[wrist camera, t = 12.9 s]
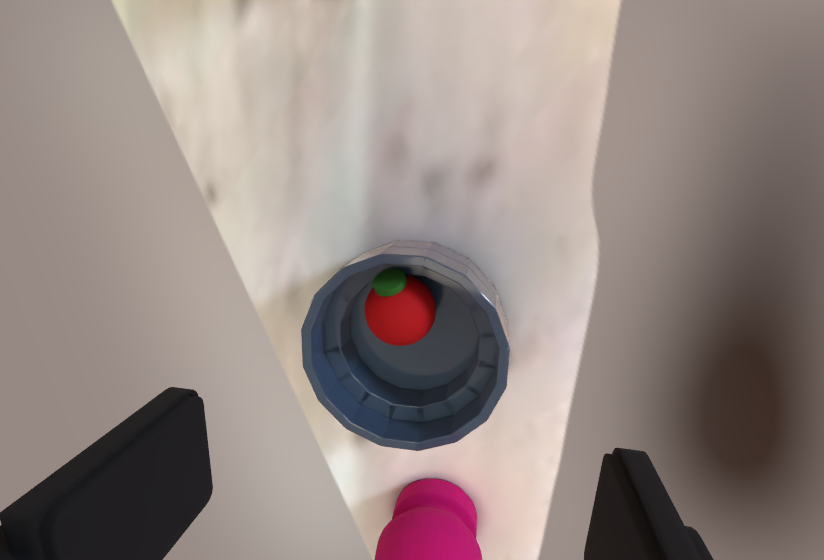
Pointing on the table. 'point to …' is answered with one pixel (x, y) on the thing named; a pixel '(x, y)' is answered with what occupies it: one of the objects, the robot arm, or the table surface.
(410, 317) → the strawberry
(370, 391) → the bowl
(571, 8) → the table surface
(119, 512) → the robot arm
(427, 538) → the pepper mill
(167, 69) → the table surface
